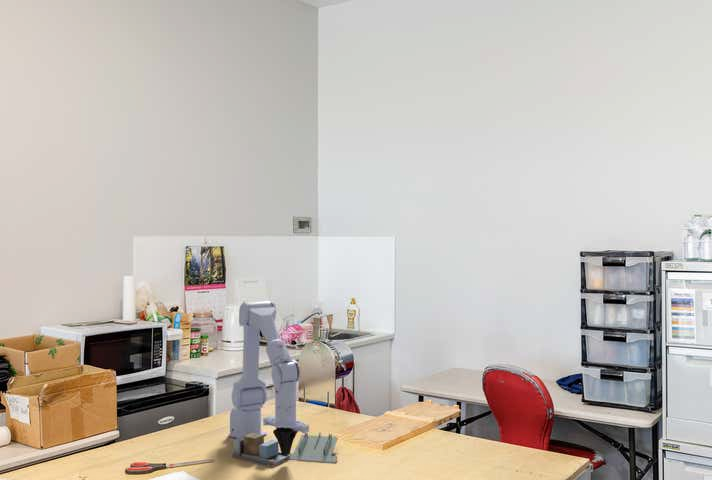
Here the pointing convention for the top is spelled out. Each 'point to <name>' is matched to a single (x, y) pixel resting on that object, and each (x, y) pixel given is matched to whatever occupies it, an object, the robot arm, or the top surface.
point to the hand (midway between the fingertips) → (285, 454)
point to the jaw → (269, 449)
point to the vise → (272, 461)
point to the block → (253, 443)
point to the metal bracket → (315, 449)
